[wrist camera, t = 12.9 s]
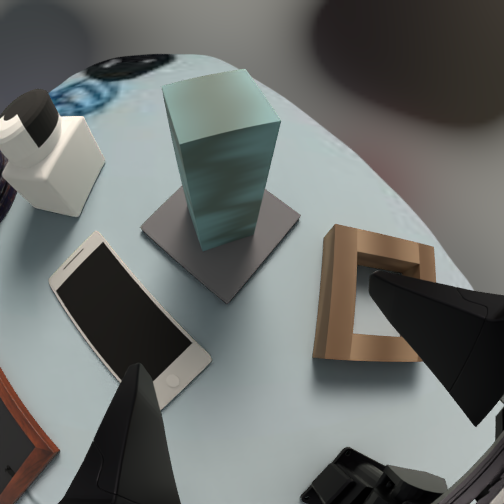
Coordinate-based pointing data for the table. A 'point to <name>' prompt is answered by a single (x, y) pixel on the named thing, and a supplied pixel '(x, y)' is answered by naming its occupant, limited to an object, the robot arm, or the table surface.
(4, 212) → the storage jar
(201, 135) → the peg
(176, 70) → the table surface
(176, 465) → the table surface
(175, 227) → the mat
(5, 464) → the picture frame
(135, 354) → the smartphone
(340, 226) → the pocket block
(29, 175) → the medicine bottle
